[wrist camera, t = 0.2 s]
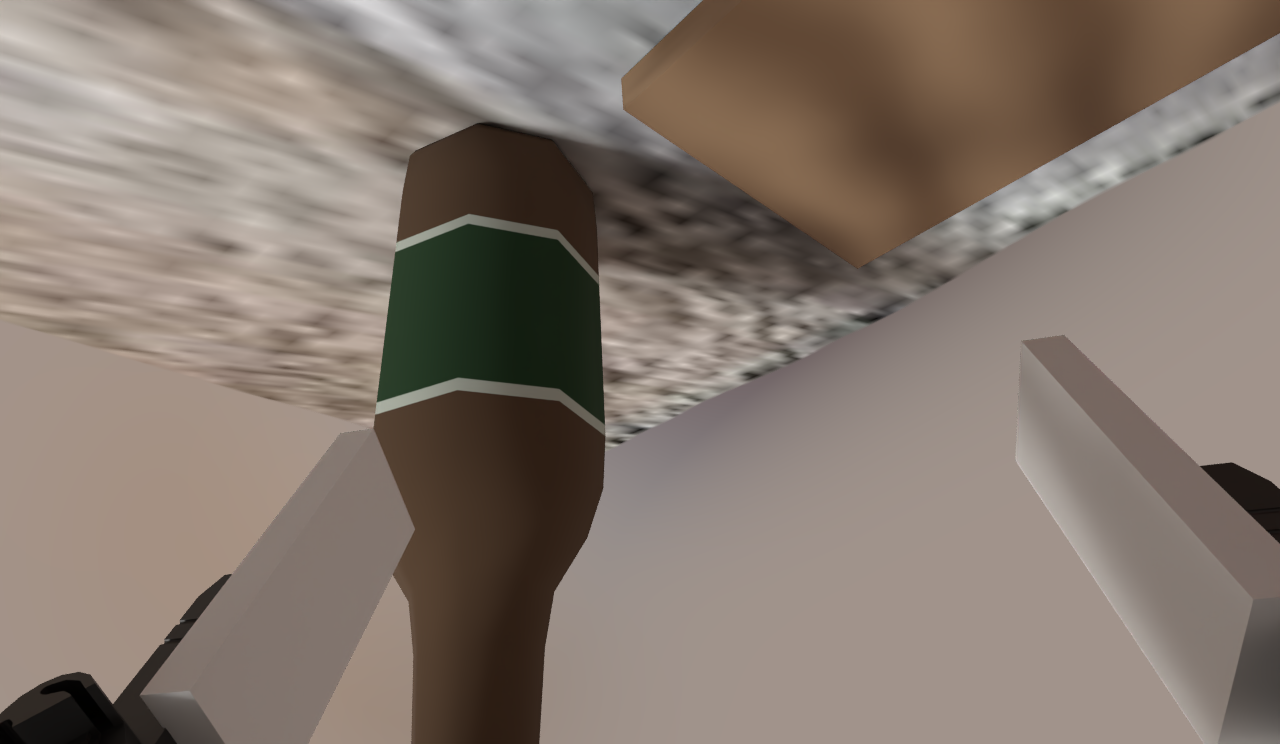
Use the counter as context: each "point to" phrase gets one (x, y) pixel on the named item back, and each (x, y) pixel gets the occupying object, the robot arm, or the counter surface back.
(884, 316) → the counter surface
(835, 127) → the wooden cutting board
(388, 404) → the beer bottle
